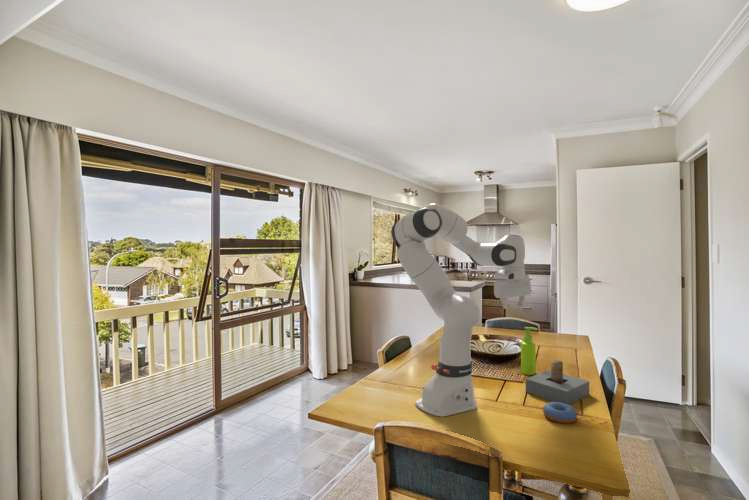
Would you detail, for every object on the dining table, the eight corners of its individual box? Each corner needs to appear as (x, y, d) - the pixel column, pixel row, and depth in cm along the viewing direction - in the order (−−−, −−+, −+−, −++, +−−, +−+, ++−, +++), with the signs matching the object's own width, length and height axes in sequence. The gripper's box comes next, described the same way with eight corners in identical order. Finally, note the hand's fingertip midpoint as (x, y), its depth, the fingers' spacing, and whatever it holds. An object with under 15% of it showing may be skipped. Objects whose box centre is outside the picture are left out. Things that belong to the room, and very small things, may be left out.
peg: (559, 396, 142) (559, 364, 142) (549, 392, 145) (548, 361, 145) (565, 393, 145) (564, 361, 144) (554, 390, 148) (554, 359, 148)
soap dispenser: (536, 376, 163) (535, 329, 163) (519, 373, 167) (519, 327, 167) (539, 372, 168) (539, 327, 167) (523, 369, 172) (523, 325, 171)
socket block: (567, 405, 134) (567, 391, 134) (525, 391, 147) (525, 378, 147) (589, 394, 143) (589, 381, 143) (548, 382, 156) (548, 370, 156)
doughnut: (577, 427, 118) (576, 411, 119) (541, 422, 123) (541, 407, 124) (578, 417, 127) (577, 403, 127) (545, 412, 132) (544, 399, 132)
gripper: (521, 272, 167) (521, 304, 167) (491, 274, 155) (491, 308, 156) (535, 273, 162) (534, 306, 162) (504, 275, 150) (504, 310, 150)
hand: (513, 307), depth 159 cm, fingers open, 8 cm apart
